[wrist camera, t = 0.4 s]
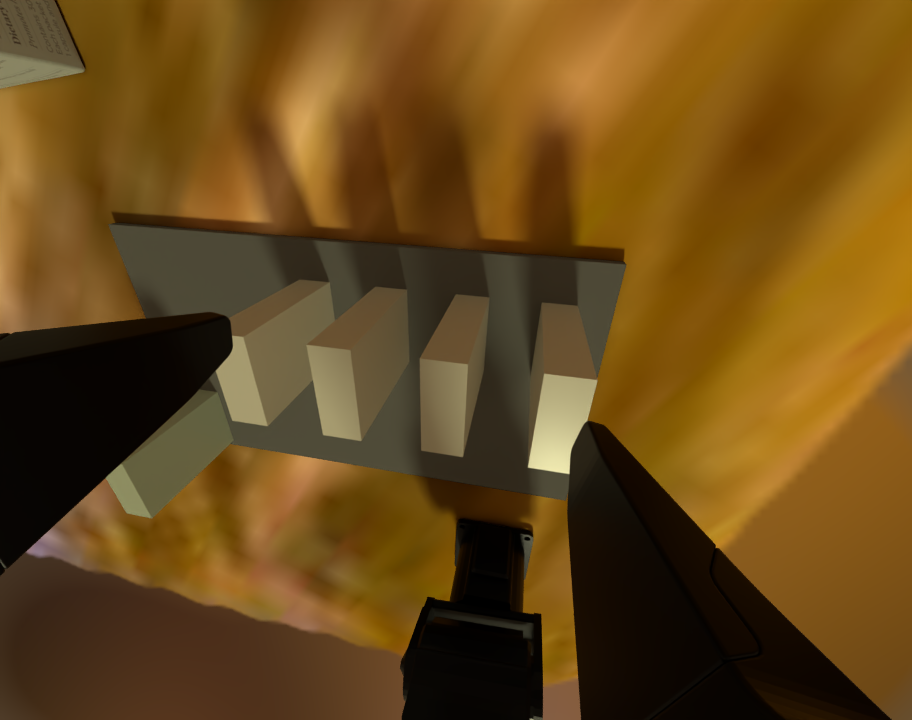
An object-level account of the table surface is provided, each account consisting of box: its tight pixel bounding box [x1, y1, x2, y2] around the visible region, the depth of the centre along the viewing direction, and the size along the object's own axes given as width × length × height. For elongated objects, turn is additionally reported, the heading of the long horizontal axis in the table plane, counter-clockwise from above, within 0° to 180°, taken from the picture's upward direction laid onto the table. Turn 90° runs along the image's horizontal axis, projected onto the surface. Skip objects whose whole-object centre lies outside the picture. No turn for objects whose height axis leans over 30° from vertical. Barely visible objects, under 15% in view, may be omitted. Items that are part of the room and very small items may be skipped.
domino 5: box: [528, 302, 597, 474], centre depth 19 cm, size 5×2×8 cm, turn 179°
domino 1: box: [106, 390, 233, 518], centre depth 28 cm, size 5×2×8 cm, turn 179°
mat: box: [108, 223, 626, 500], centre depth 27 cm, size 18×32×1 cm, turn 89°
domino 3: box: [307, 287, 409, 441], centre depth 21 cm, size 5×2×8 cm, turn 178°
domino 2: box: [216, 280, 335, 426], centre depth 21 cm, size 5×2×8 cm, turn 179°
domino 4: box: [420, 294, 490, 457], centre depth 20 cm, size 5×2×8 cm, turn 179°
